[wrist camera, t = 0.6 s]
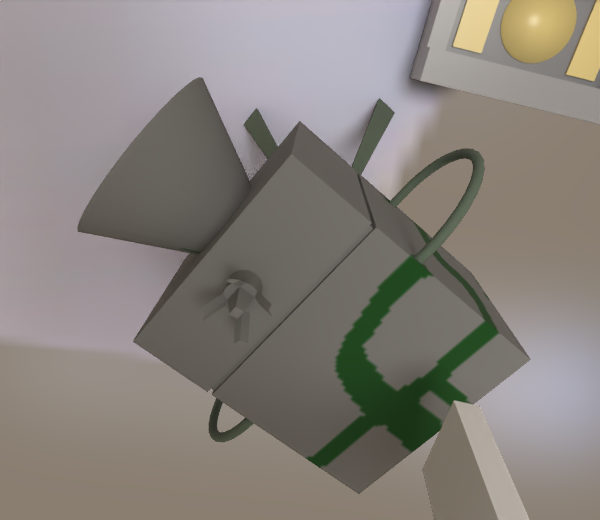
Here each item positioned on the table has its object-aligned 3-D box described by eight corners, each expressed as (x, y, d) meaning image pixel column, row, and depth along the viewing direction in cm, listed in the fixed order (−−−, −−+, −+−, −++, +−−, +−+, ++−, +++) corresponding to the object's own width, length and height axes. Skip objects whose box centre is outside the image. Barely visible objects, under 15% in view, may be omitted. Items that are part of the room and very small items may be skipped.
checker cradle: (458, -90, 31) (477, -108, 27) (668, -34, 31) (712, -45, 28) (409, 77, 34) (420, 80, 31) (597, 123, 35) (627, 131, 32)
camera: (461, 161, 37) (700, 349, 14) (324, 299, 42) (331, 606, 19) (302, 9, 33) (266, -80, 10) (172, 180, 38) (-50, 380, 15)
